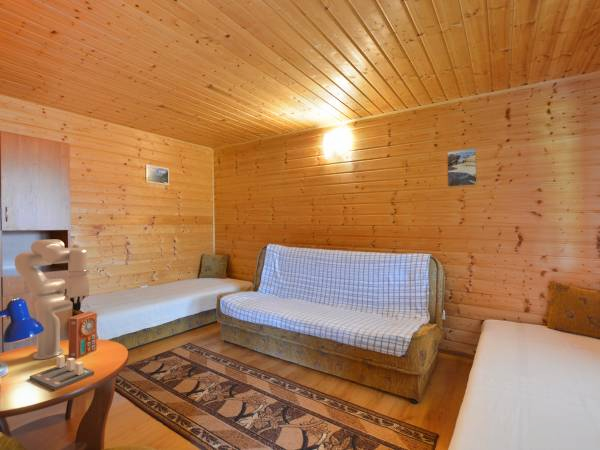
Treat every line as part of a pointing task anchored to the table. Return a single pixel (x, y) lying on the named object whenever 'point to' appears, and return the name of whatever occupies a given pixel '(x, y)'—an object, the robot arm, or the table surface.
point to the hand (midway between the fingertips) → (76, 310)
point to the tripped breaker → (71, 364)
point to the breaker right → (79, 368)
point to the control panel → (82, 334)
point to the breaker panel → (59, 377)
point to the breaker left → (60, 361)
